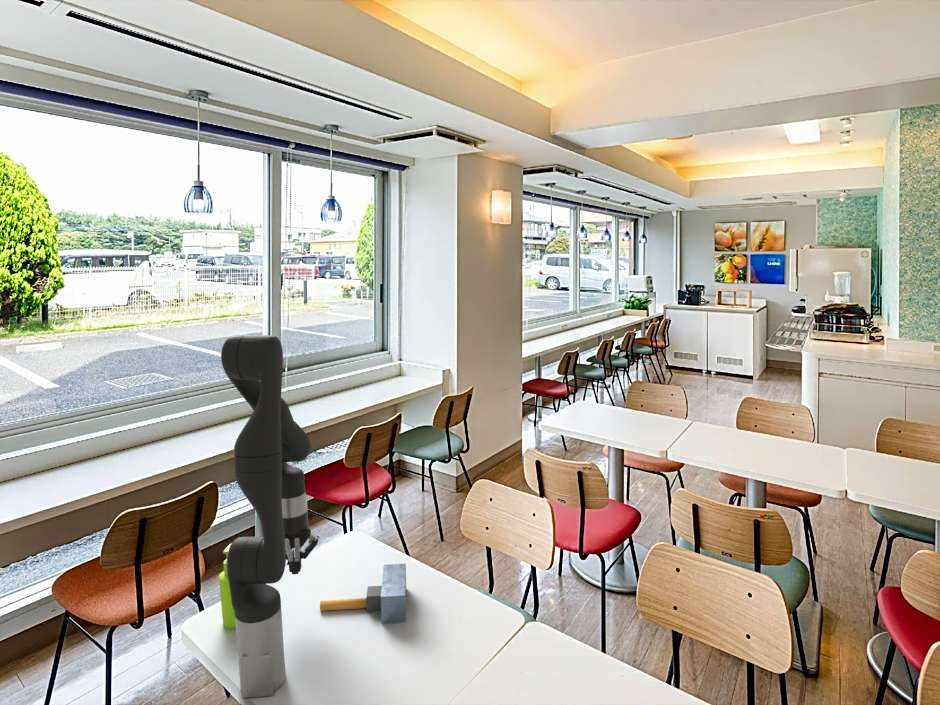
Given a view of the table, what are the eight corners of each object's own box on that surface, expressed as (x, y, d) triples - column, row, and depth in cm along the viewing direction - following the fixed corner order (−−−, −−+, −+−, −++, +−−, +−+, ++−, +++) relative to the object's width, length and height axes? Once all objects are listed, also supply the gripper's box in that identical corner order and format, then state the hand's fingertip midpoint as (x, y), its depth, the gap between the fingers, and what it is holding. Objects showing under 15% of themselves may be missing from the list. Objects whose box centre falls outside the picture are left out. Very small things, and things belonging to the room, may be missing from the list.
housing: (405, 622, 143) (405, 595, 142) (381, 623, 142) (380, 596, 141) (406, 588, 157) (405, 563, 156) (384, 589, 157) (383, 564, 155)
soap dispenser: (254, 612, 147) (248, 540, 143) (241, 629, 140) (235, 555, 137) (232, 610, 148) (226, 539, 144) (218, 628, 141) (211, 553, 137)
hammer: (386, 611, 147) (386, 595, 147) (319, 615, 146) (318, 599, 145) (387, 600, 152) (386, 585, 151) (322, 604, 150) (321, 589, 149)
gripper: (260, 518, 138) (265, 582, 141) (316, 515, 139) (319, 579, 143) (268, 504, 145) (272, 565, 149) (321, 501, 147) (324, 563, 150)
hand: (295, 572), depth 146 cm, fingers closed
